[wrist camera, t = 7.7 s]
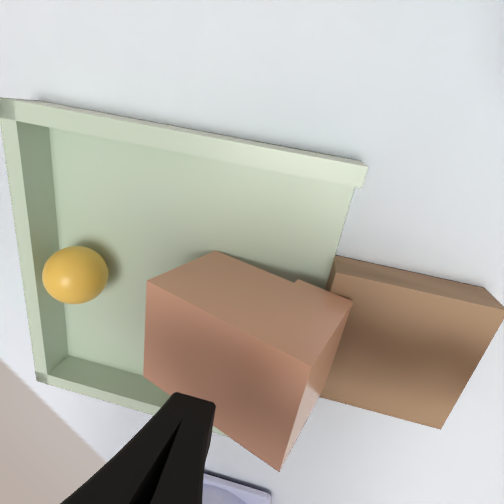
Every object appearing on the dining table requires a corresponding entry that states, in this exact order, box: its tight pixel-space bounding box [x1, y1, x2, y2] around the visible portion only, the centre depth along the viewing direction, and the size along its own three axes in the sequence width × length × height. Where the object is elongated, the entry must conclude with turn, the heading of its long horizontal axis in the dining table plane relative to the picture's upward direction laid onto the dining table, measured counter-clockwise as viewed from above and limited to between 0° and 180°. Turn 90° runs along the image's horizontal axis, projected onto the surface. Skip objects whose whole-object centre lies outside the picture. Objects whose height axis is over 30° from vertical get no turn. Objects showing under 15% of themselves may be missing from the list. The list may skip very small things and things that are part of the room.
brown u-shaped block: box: [143, 250, 353, 472], centre depth 14 cm, size 5×5×7 cm
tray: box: [0, 98, 368, 437], centre depth 17 cm, size 16×16×2 cm
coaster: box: [319, 255, 504, 429], centre depth 16 cm, size 7×7×2 cm
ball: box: [42, 246, 109, 304], centre depth 17 cm, size 3×3×3 cm
